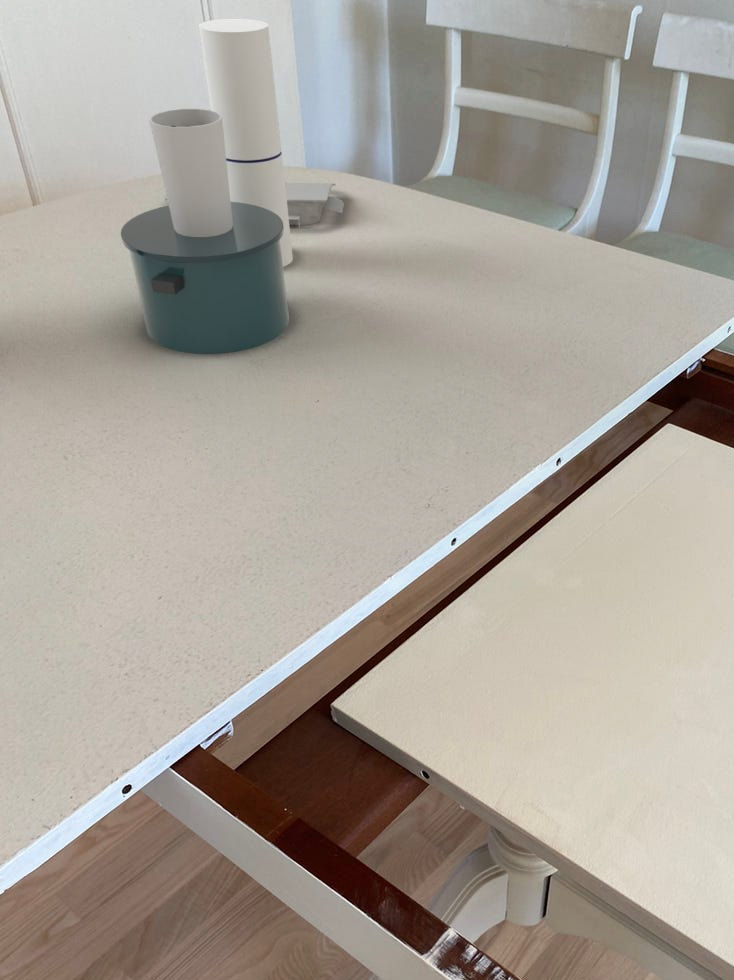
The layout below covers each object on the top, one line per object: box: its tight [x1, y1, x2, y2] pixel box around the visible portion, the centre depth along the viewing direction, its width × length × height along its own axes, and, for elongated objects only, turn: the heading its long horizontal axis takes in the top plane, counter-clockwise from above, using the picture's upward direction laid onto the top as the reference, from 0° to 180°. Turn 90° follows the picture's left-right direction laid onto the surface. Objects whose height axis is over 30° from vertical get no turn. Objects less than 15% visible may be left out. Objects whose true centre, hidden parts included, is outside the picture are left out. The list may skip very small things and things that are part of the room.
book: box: [164, 182, 345, 230], centre depth 130 cm, size 15×23×4 cm, turn 92°
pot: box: [120, 202, 290, 355], centre depth 101 cm, size 16×19×11 cm
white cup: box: [148, 108, 233, 237], centre depth 95 cm, size 7×7×10 cm
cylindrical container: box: [198, 18, 294, 268], centre depth 110 cm, size 7×7×25 cm
